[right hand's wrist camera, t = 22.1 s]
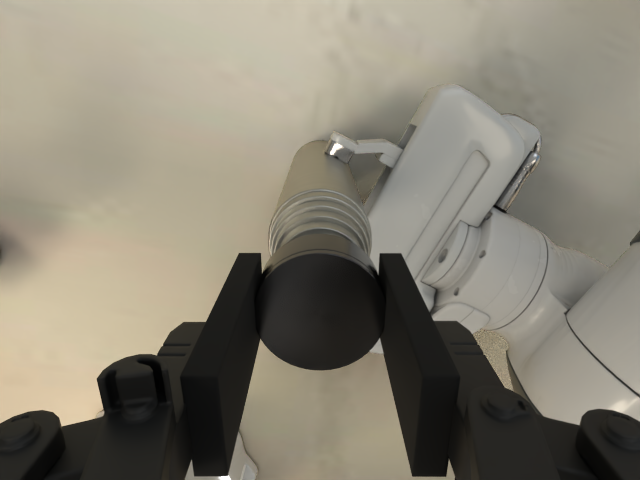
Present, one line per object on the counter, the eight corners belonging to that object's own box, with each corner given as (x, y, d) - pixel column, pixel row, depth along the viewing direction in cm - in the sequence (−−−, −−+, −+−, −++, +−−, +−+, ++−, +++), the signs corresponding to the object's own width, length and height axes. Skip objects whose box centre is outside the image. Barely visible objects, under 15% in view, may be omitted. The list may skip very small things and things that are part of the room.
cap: (292, 212, 14) (289, 229, 12) (401, 265, 14) (412, 289, 13) (241, 311, 15) (231, 339, 13) (343, 356, 16) (346, 388, 14)
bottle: (291, 140, 35) (241, 234, 13) (348, 140, 35) (397, 234, 13) (292, 196, 37) (251, 364, 15) (347, 196, 37) (389, 363, 15)
